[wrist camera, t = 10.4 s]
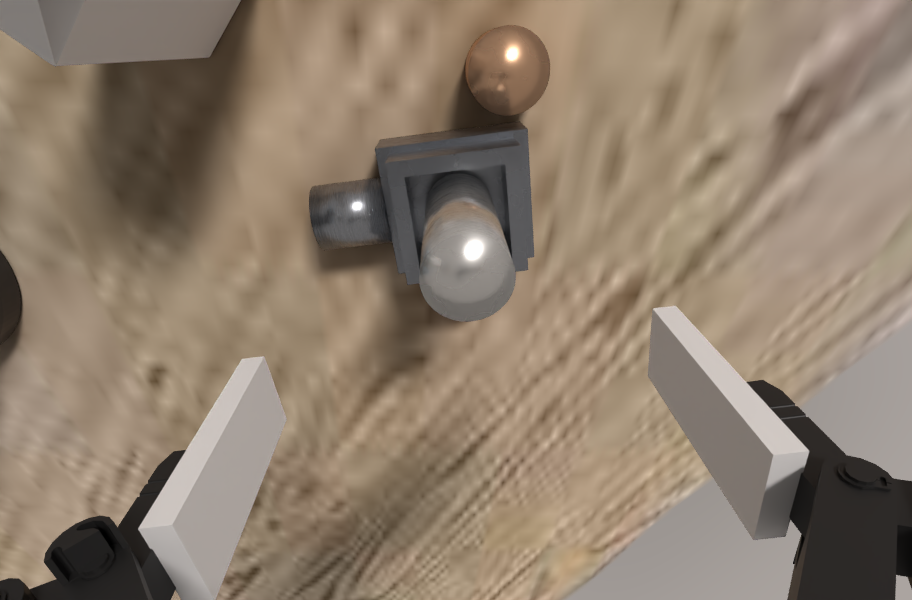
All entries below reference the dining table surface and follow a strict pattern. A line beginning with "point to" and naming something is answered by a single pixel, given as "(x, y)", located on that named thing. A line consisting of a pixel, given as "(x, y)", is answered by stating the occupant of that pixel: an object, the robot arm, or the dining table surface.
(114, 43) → the milk carton
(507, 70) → the glossy bronze sphere
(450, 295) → the silver rounded cylinder
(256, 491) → the robot arm
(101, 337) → the dining table surface
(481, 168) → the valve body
